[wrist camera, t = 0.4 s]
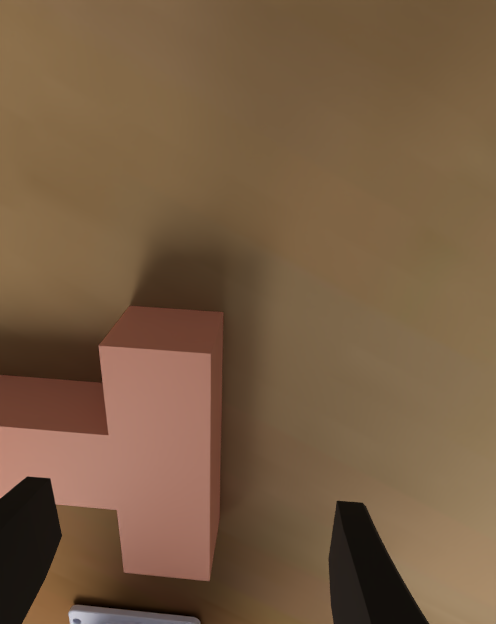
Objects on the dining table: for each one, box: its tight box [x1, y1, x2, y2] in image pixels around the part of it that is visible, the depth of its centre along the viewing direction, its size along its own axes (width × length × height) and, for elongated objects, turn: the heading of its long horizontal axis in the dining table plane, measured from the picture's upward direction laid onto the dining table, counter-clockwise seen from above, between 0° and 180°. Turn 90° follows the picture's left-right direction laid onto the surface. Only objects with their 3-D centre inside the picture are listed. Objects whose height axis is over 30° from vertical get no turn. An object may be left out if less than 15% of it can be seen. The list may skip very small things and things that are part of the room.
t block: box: [0, 306, 223, 581], centre depth 20 cm, size 12×12×4 cm
